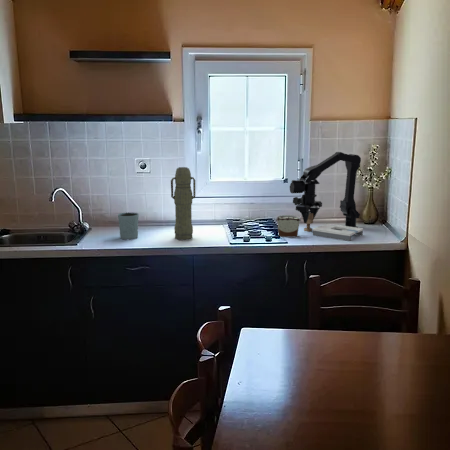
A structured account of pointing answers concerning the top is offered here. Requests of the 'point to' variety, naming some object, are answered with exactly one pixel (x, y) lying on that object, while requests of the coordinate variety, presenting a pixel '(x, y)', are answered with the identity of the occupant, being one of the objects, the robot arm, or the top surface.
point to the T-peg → (309, 221)
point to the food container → (288, 225)
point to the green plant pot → (128, 225)
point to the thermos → (183, 203)
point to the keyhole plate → (337, 231)
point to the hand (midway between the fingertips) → (308, 221)
